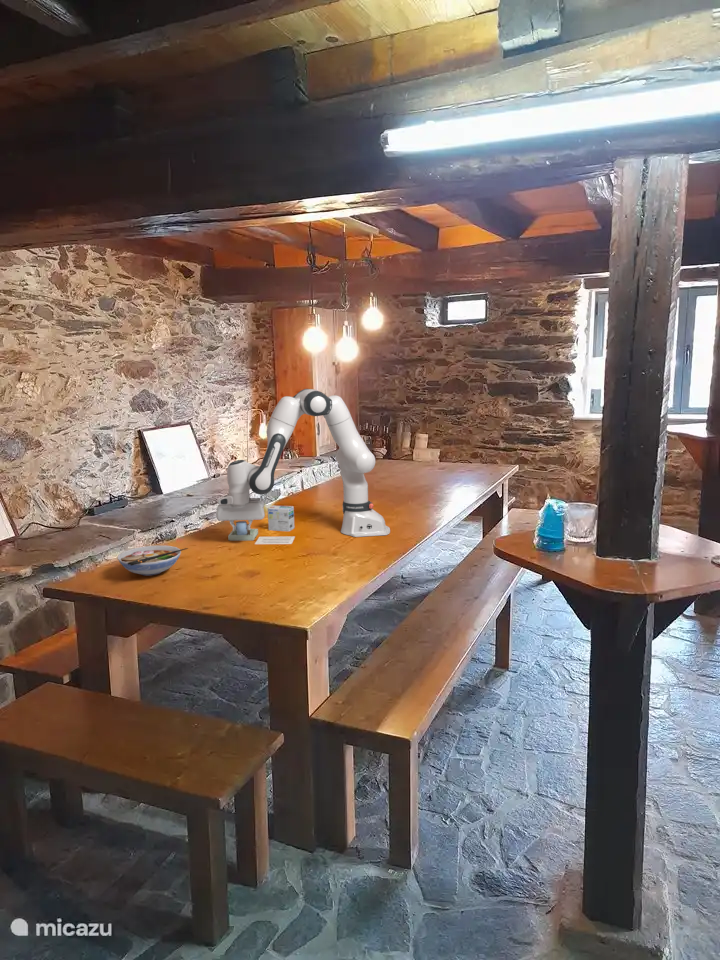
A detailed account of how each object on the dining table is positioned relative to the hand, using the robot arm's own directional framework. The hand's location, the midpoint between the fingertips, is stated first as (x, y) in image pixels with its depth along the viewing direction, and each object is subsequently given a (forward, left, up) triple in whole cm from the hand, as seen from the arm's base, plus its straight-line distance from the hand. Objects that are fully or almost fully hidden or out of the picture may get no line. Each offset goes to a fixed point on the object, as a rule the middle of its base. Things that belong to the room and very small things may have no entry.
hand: (241, 529), depth 283 cm
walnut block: (+2, -10, -6) cm, 12 cm away
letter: (-13, -5, -6) cm, 16 cm away
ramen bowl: (+27, +38, -6) cm, 47 cm away
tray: (+2, -10, -6) cm, 12 cm away
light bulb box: (-13, -24, -6) cm, 28 cm away
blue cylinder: (0, 0, -2) cm, 2 cm away
